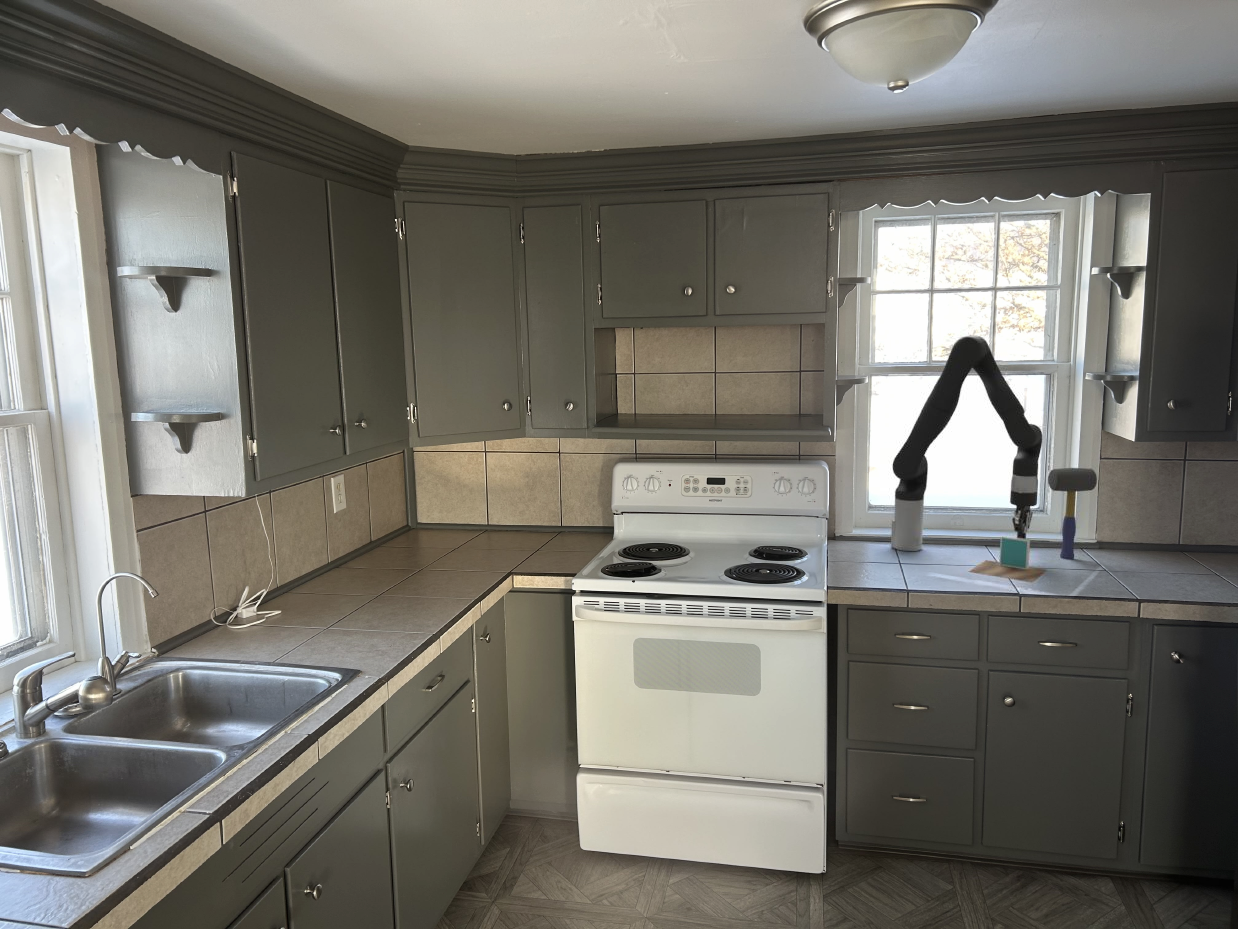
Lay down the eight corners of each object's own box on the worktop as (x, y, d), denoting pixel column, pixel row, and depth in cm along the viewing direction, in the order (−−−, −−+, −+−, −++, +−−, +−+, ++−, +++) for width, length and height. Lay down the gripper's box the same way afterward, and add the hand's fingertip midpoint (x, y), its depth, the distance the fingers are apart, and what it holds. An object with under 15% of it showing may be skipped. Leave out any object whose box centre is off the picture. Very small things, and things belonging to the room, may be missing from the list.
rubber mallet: (1052, 564, 267) (1058, 470, 262) (1041, 558, 274) (1047, 466, 269) (1092, 564, 266) (1099, 469, 261) (1081, 557, 274) (1087, 465, 269)
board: (968, 575, 257) (968, 571, 257) (985, 563, 269) (986, 560, 269) (1032, 586, 245) (1032, 582, 245) (1047, 573, 257) (1047, 569, 257)
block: (999, 565, 263) (1000, 536, 262) (1000, 563, 264) (1002, 535, 263) (1026, 569, 258) (1028, 540, 256) (1028, 568, 259) (1030, 539, 258)
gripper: (1017, 484, 270) (1014, 538, 272) (1004, 491, 260) (1001, 546, 262) (1043, 487, 265) (1040, 541, 267) (1031, 494, 255) (1027, 550, 258)
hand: (1021, 544), depth 265 cm, fingers closed
